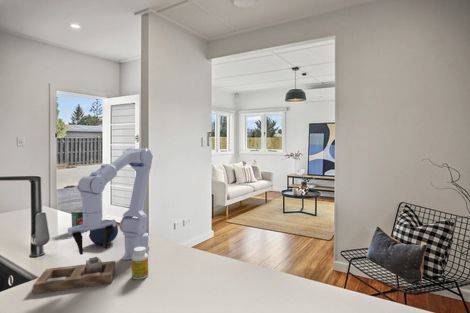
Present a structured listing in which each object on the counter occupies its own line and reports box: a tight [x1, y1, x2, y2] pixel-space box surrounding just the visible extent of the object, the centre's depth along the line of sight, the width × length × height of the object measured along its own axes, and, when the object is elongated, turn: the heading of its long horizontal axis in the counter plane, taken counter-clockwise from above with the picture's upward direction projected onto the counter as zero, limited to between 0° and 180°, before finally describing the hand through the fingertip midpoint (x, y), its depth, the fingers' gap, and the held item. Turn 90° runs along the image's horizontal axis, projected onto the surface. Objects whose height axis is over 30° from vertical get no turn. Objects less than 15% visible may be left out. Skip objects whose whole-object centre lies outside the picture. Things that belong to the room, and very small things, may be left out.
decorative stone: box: [88, 219, 119, 246], centre depth 127 cm, size 12×12×10 cm
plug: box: [85, 256, 102, 274], centre depth 95 cm, size 4×4×7 cm
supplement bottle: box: [131, 247, 149, 280], centre depth 96 cm, size 5×5×10 cm
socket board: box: [32, 260, 116, 295], centre depth 94 cm, size 22×11×3 cm, turn 107°
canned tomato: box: [70, 208, 83, 227], centre depth 145 cm, size 8×8×11 cm
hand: (93, 250), depth 95 cm, fingers open, 7 cm apart
